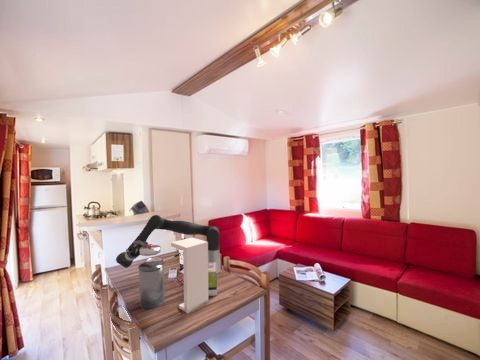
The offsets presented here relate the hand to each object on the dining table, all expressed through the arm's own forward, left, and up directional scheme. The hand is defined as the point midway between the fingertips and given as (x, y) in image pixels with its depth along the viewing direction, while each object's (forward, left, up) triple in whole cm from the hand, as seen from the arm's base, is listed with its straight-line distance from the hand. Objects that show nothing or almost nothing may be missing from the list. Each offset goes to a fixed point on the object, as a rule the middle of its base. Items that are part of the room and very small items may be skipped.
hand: (143, 244), depth 133 cm
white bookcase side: (-22, +19, -31) cm, 43 cm away
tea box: (-36, +10, -32) cm, 49 cm away
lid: (-1, +2, -3) cm, 4 cm away
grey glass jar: (-3, +8, -31) cm, 33 cm away
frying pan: (-21, -52, -32) cm, 64 cm away
